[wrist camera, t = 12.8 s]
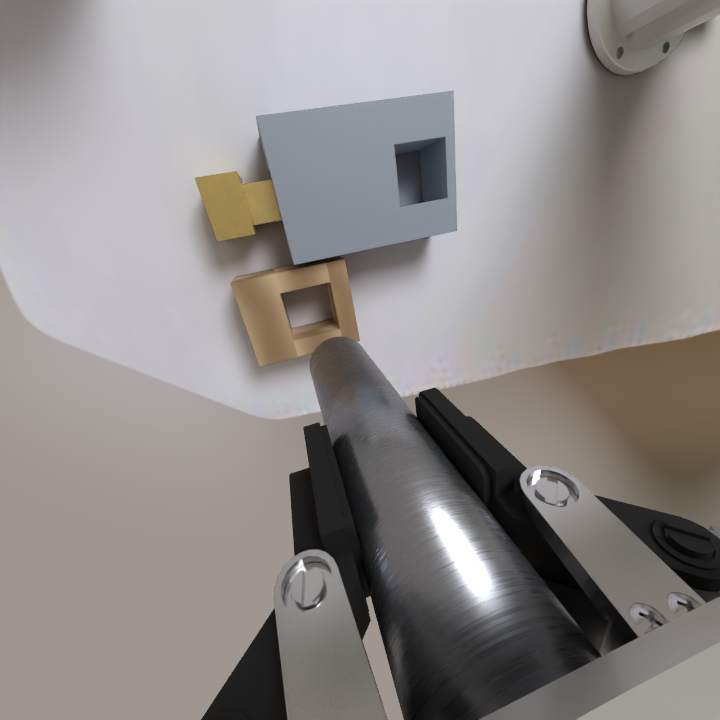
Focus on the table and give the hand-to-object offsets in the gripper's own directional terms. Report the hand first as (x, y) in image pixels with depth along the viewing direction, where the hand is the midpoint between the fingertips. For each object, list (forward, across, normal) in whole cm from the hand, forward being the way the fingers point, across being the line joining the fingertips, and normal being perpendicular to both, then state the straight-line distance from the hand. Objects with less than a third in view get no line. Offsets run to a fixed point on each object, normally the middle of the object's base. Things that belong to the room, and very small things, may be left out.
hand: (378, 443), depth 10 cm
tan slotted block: (+24, 0, 0) cm, 24 cm away
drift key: (+24, -1, -9) cm, 25 cm away
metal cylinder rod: (+7, 0, 0) cm, 7 cm away
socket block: (+24, -7, -9) cm, 26 cm away
